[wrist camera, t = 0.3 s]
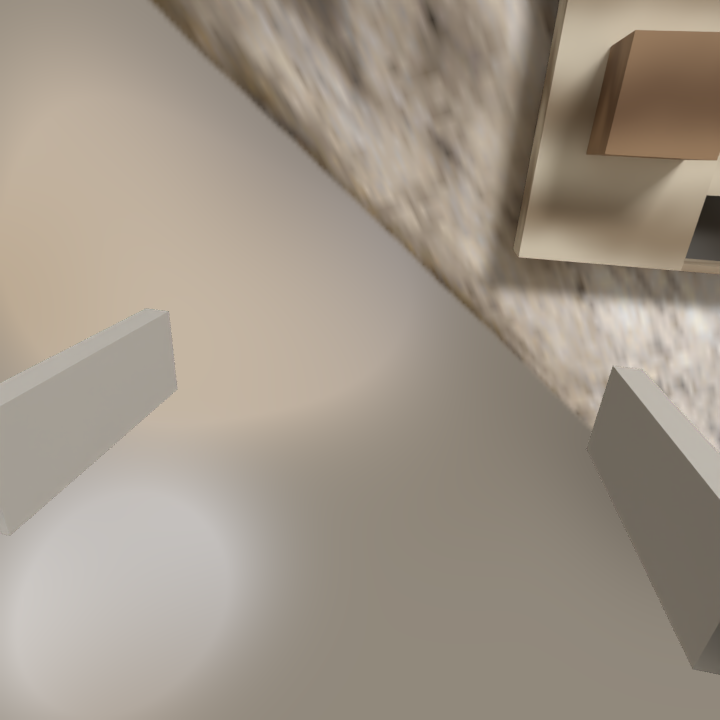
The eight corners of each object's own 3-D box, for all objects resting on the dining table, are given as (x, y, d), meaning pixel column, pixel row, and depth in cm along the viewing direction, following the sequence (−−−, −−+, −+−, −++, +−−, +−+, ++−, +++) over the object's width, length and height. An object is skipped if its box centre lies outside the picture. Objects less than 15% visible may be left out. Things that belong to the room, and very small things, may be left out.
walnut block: (610, 46, 28) (635, 29, 25) (718, 49, 27) (760, 32, 24) (585, 154, 31) (605, 154, 27) (684, 160, 30) (716, 160, 26)
